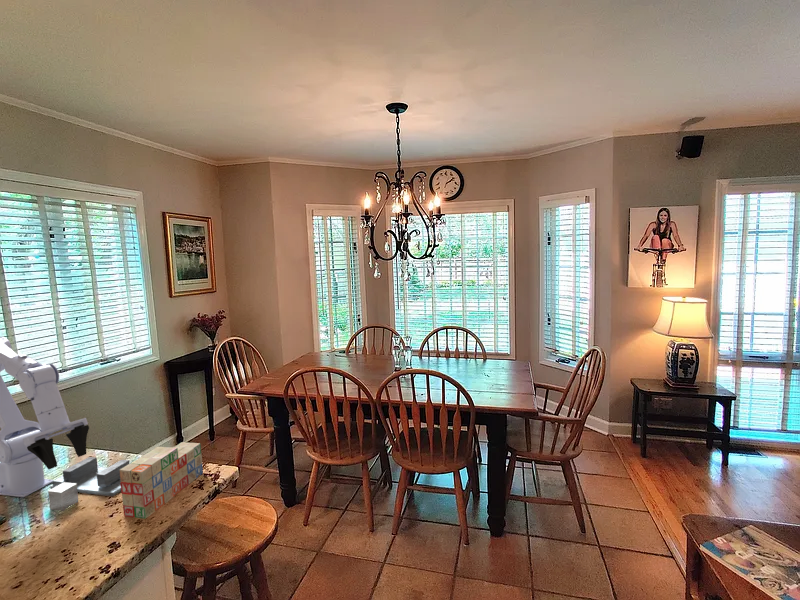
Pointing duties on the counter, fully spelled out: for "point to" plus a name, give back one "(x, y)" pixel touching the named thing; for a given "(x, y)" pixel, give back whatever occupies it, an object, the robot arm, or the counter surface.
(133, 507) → the stack of blocks
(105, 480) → the block
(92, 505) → the counter surface
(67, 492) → the aluminium block
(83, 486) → the base
